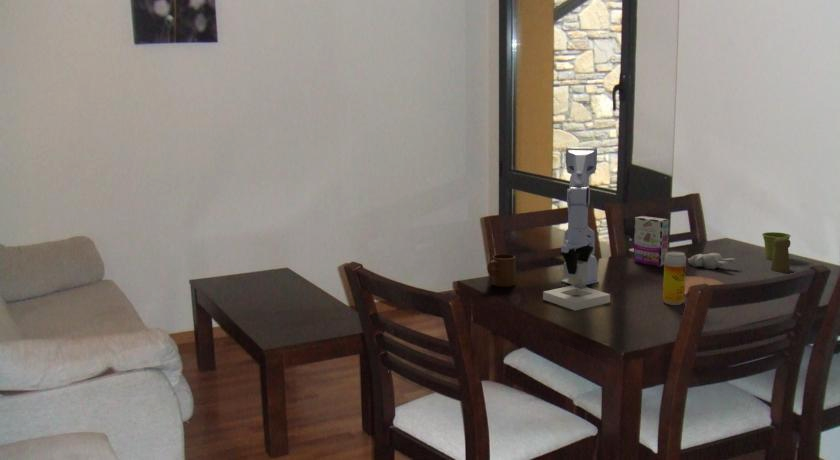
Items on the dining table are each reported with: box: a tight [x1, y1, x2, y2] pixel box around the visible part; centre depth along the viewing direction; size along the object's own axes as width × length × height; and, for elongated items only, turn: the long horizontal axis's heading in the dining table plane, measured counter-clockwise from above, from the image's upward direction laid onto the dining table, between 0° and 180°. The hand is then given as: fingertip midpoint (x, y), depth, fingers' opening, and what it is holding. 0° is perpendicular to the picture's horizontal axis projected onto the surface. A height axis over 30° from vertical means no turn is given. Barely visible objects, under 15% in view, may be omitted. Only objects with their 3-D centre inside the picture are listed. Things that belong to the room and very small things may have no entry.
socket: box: [542, 283, 611, 311], centre depth 248 cm, size 14×14×3 cm
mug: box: [486, 253, 517, 288], centre depth 266 cm, size 12×8×9 cm, turn 137°
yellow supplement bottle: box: [662, 251, 687, 306], centre depth 244 cm, size 6×6×15 cm
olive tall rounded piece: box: [770, 238, 791, 273], centre depth 279 cm, size 6×6×11 cm
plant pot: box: [761, 231, 792, 260], centre depth 295 cm, size 9×9×9 cm
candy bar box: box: [633, 215, 670, 268], centre depth 290 cm, size 11×5×16 cm, turn 42°
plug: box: [562, 261, 587, 284], centre depth 247 cm, size 5×5×6 cm
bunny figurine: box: [687, 252, 737, 270], centre depth 284 cm, size 10×5×15 cm
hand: (576, 271), depth 247 cm, fingers closed on plug, 5 cm apart
